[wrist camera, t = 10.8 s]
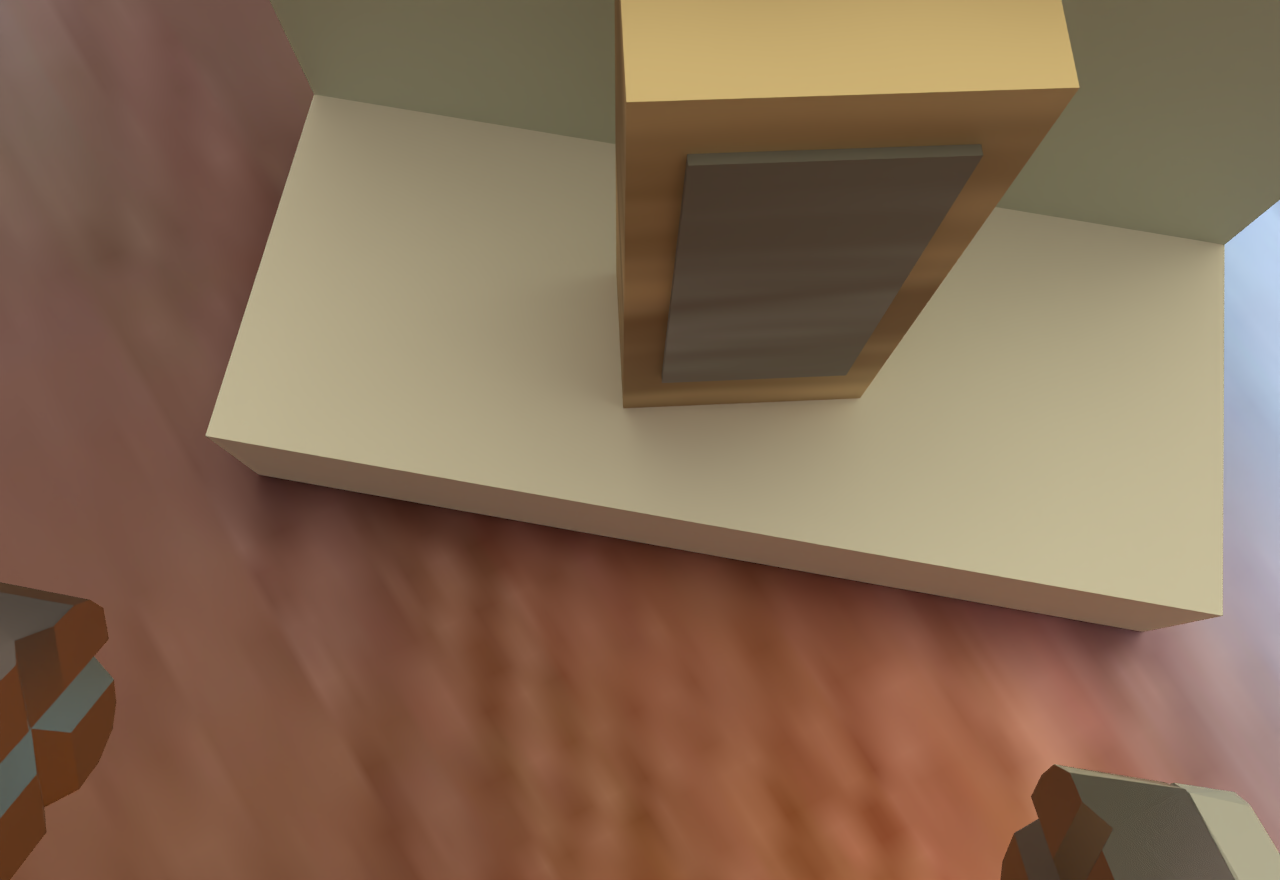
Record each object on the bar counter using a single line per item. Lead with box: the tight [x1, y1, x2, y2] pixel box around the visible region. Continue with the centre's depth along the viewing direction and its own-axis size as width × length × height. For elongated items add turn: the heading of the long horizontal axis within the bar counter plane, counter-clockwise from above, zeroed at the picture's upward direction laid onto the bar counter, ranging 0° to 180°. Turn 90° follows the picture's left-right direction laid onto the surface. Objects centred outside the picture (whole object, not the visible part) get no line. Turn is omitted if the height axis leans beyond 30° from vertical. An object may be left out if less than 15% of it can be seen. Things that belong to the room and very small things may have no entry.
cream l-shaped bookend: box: [206, 0, 1280, 632], centre depth 16 cm, size 9×20×16 cm, turn 80°
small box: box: [615, 0, 1080, 408], centre depth 16 cm, size 3×5×10 cm
